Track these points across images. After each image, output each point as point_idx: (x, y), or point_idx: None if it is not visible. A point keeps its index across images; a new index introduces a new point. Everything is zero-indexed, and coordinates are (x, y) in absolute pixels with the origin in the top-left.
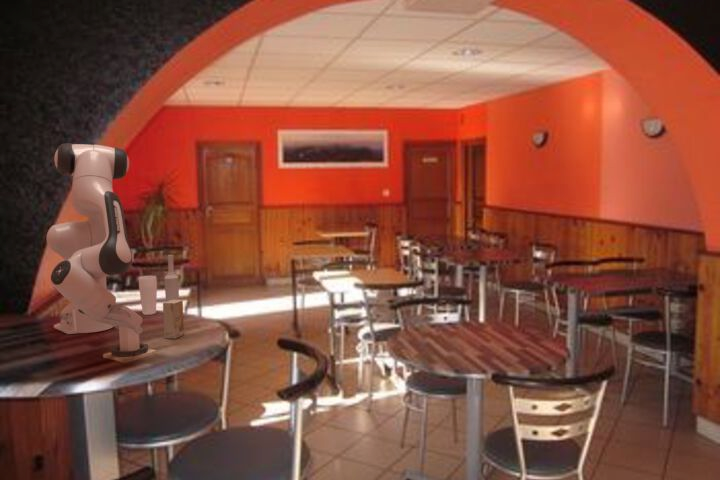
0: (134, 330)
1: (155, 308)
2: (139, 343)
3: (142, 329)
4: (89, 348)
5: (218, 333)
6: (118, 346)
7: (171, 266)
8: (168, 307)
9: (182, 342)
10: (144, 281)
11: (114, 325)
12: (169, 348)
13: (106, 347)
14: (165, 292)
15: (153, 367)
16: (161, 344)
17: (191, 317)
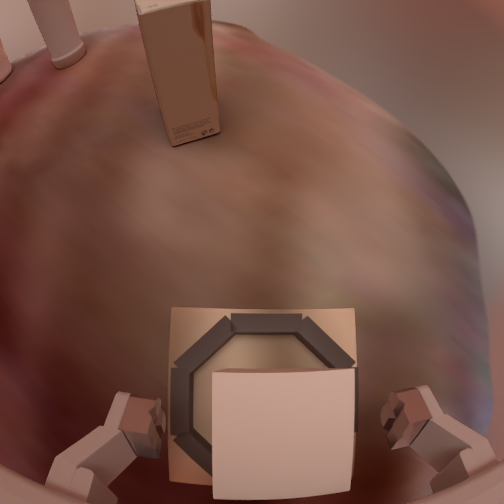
0: (400, 445)
1: (8, 61)
2: (242, 324)
3: (427, 390)
4: (15, 388)
5: (292, 59)
6: (188, 424)
7: None
8: (178, 25)
9: (287, 149)
10: None
11: (125, 460)
12: (321, 227)
13: (52, 352)
14: (33, 10)
15: (470, 419)
16: (233, 202)
17: (101, 34)
